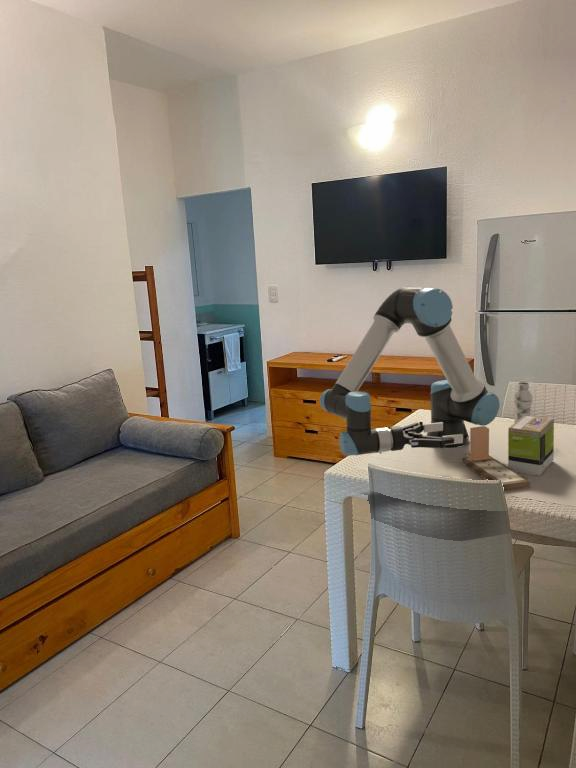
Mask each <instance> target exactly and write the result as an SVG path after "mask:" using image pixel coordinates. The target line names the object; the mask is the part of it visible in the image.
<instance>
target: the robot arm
mask: <svg viewBox="0 0 576 768" xmlns="http://www.w3.org/2000/svg"><path fill="white" fill-rule="evenodd" d="M452 309H453V302H452V299H451V297H450V296H449V295H448V293H447V292H445V291H444V290H442V289H441V288H436V287H432V286H429V287H428V286H427V287H420V286H419V287H418V286H417V287H415V286H404V287H400V288H398V289H396V290H394V291H393V292H392V293H391V294H389V296H388V297H386V299H384V301H383V302H382V303H381V304H380V306H379V307H378V309H377V311H376V312H375V314H374V315H373V323H372V324H371V326H370V327H369V329H368V331H367V332H366V334H365V335H364V337H363V338H362V340H361V342H359V345H358V347H357V348H356V350H355V351H354V353H353V355H352V356H351V358H350V359H349V361H348V362H347V365H345V367H344V369H343V371H342V372H341V374H340V375H339V377H338V379H337V380H336V382H335V384H334V385H333V387H331V389H330V388H329V389H326V390H324V391H323V392H322V393H321V395H320V397H319V404H320V407H321V408H322V410H324V411H325V412H327V413H328V414H331V415H334V416H337V417H340V418H341V419H344V420H346V422H345V423H346V424H345V425H346V431H345V430H344V431H342V432H341V433H340V434H339V438H338V439H339V440H338V443H339V444H338V445H339V448H340V451H341V453H342V454H343V455H344V456H347V457H349V456H360V455H362V456H363V455H367V454H369V455H371V454H377V453H378V454H383V453H384V452H386V453H387V452H391V451H392V452H394V451H401V450H403V449H404V448H405V446H406V445H409V446H410V447H411V448H412V449H414V448H426V449H442V450H443V449H452V448H454V449H455V448H461V447H465V446H466V445H468V444H470V434H469V432H468V430H467V426H466V424H465V422H466V423H470V424H473V425H478V426H480V427H481V426H487V425H489V424H491V423H492V422H493V421H494V420H495V419H496V417H497V415H498V413H499V410H500V398H499V396H498V395H497V394H495V393H494V392H491V391H488V390H487V387H486V385H485V383H484V381H482V380H481V379H480V378H476V375H475V373H474V372H473V370H472V368H471V366H470V364H469V362H468V359H467V357H466V355H465V354H464V351H463V350H462V347H461V346H460V343H459V341H458V339H457V337H456V336H455V333H454V332H453V330H452V327H451V322H452V319H453V318H452V315H453V311H452ZM405 324H411V325H412V326H413V328H414V330H415V332H416V334H417V336H419V337H422V338H424V339H425V342H427V344H428V346H429V348H430V350H431V352H432V354H433V356H434V358H435V359H436V362H437V363H438V366H439V367H440V369H441V371H442V373H443V375H444V378H445V379H444V380H438V381H434V382H432V384H431V386H430V416H431V417H430V423H424V422H423V421H419V422H415V423H410V424H408V425H404V426H400V425H399V426H398V425H396V426H395V425H394V426H388V427H378V428H372V424H371V423H372V404H371V395H370V393H368V392H366V391H359V390H360V388H361V387H362V385H363V383H364V382H365V380H366V378H367V377H368V375H369V374H370V373H371V370H372V369H373V367H374V365H375V364H376V363H377V361H378V359H379V358H380V356H381V354H382V352H383V351H384V349H385V348H386V346H387V345H388V343H389V341H390V339H391V338H392V337H393V335H394V333H398V332H399V331H400V329H401V328H402V327H403V326H404V325H405ZM422 432H423V433H425V434H426V435H423V434H422Z"/></svg>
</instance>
